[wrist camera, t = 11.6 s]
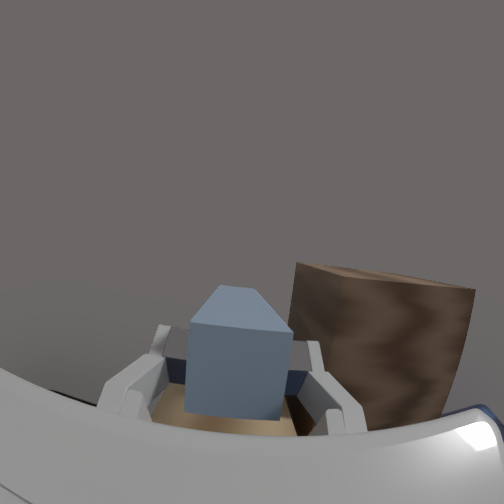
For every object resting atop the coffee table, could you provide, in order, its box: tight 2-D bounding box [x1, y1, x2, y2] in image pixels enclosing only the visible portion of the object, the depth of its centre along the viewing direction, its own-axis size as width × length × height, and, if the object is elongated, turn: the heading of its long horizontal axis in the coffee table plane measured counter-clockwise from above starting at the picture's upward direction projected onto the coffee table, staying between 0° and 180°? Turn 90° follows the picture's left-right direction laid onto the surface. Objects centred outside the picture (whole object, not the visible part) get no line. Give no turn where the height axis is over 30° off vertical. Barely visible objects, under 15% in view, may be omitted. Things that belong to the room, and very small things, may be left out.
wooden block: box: [151, 383, 297, 436], centre depth 21 cm, size 9×14×16 cm, turn 3°
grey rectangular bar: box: [184, 285, 294, 421], centre depth 19 cm, size 4×20×4 cm, turn 3°
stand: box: [284, 262, 476, 436], centre depth 24 cm, size 13×15×26 cm
